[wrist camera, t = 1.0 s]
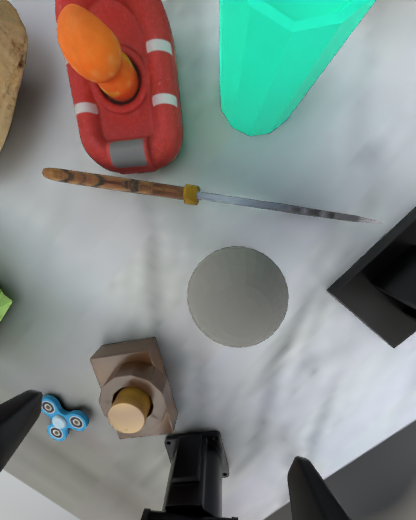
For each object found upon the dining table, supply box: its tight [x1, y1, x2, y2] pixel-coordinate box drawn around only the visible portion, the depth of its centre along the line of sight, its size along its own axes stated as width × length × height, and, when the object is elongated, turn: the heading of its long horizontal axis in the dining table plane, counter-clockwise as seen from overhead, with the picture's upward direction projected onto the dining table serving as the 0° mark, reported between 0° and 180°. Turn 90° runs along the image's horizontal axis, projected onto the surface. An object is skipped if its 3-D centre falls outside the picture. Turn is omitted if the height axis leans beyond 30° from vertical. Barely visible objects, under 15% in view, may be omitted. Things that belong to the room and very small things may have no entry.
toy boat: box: [55, 0, 183, 174], centre depth 13 cm, size 8×12×8 cm, turn 5°
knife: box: [42, 168, 383, 223], centre depth 16 cm, size 25×1×5 cm, turn 82°
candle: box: [219, 0, 376, 136], centre depth 11 cm, size 6×6×12 cm
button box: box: [90, 337, 177, 439], centre depth 22 cm, size 10×7×4 cm
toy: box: [41, 395, 89, 441], centre depth 25 cm, size 6×6×1 cm
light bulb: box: [187, 247, 289, 348], centre depth 15 cm, size 6×6×10 cm
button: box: [108, 387, 151, 433], centre depth 19 cm, size 3×3×2 cm
